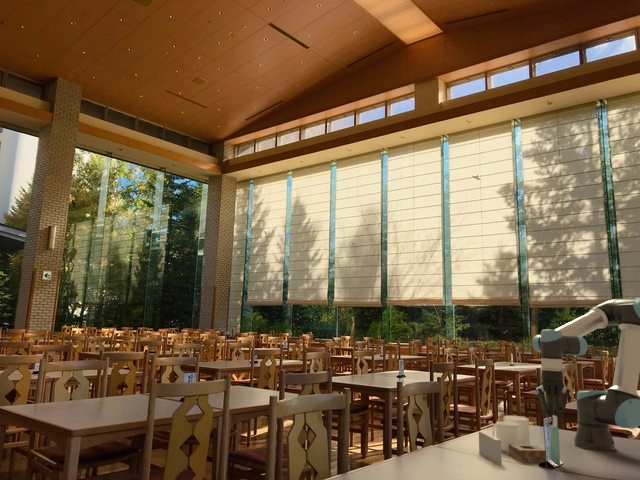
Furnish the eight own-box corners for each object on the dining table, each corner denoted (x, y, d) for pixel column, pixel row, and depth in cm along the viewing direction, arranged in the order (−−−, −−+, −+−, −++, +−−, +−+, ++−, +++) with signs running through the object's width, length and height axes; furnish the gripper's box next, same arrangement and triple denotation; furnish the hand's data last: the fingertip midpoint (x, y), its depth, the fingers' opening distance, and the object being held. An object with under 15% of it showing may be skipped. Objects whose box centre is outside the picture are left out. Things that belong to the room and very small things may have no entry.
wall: (484, 452, 199) (483, 431, 200) (501, 463, 183) (501, 440, 184) (479, 452, 198) (478, 431, 200) (496, 463, 183) (495, 440, 184)
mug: (501, 439, 226) (500, 413, 228) (525, 440, 224) (524, 415, 226) (506, 445, 213) (505, 419, 215) (532, 447, 211) (531, 420, 213)
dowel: (557, 464, 185) (555, 426, 187) (561, 466, 182) (560, 428, 184) (549, 464, 185) (547, 426, 187) (553, 466, 182) (552, 428, 184)
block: (533, 455, 197) (533, 444, 198) (547, 462, 187) (546, 450, 188) (508, 455, 196) (508, 444, 197) (520, 461, 186) (520, 450, 187)
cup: (507, 452, 200) (507, 425, 202) (485, 446, 211) (485, 420, 213) (523, 451, 204) (522, 424, 205) (500, 444, 214) (500, 419, 216)
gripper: (563, 369, 202) (565, 432, 198) (531, 368, 201) (532, 431, 197) (573, 371, 195) (576, 436, 191) (540, 369, 194) (542, 435, 190)
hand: (553, 433), depth 194 cm, fingers closed
